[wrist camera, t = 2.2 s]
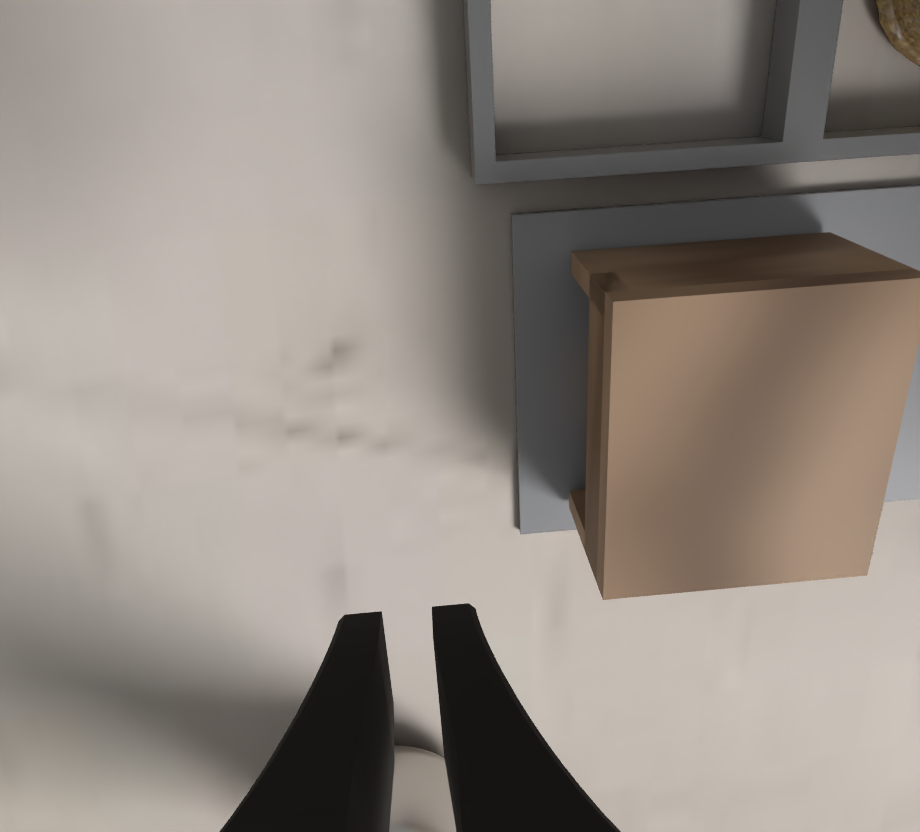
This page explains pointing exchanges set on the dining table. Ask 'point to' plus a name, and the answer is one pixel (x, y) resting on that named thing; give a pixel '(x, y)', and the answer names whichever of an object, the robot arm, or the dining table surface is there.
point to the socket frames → (783, 141)
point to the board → (559, 232)
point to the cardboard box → (740, 409)
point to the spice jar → (902, 26)
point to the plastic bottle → (420, 792)
